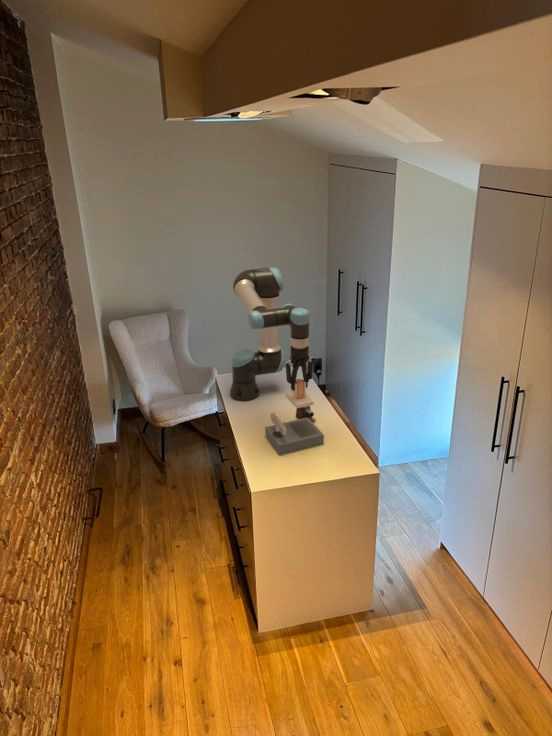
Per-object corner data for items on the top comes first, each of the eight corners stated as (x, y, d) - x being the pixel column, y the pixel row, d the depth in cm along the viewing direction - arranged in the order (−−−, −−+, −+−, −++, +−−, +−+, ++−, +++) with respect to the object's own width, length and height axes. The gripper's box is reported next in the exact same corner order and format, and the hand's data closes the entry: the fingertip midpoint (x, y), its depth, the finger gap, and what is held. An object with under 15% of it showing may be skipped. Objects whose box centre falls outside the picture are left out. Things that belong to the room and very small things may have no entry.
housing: (265, 436, 245) (265, 426, 243) (307, 426, 252) (307, 417, 250) (279, 455, 231) (279, 445, 229) (323, 444, 239) (323, 434, 236)
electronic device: (309, 425, 253) (309, 410, 250) (295, 417, 260) (295, 403, 257) (316, 421, 256) (316, 407, 253) (301, 414, 263) (301, 400, 260)
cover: (285, 396, 240) (285, 376, 236) (301, 392, 243) (301, 373, 239) (296, 408, 230) (297, 388, 226) (313, 404, 233) (314, 384, 229)
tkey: (282, 442, 231) (282, 429, 228) (270, 426, 242) (270, 413, 240) (286, 441, 231) (286, 428, 228) (274, 425, 243) (274, 412, 240)
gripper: (285, 352, 219) (285, 403, 230) (321, 345, 225) (320, 395, 235) (277, 345, 225) (278, 395, 236) (313, 339, 231) (312, 387, 242)
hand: (299, 395), depth 236 cm, fingers closed on cover, 3 cm apart
